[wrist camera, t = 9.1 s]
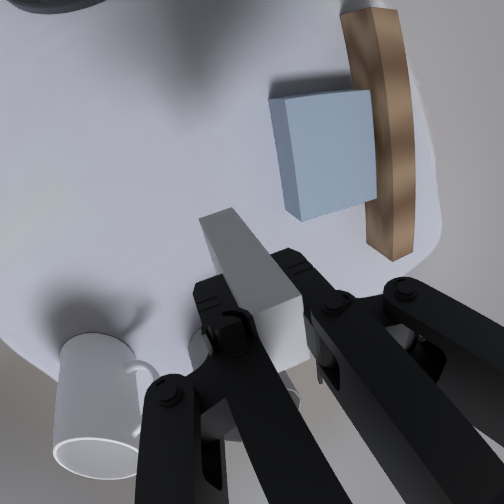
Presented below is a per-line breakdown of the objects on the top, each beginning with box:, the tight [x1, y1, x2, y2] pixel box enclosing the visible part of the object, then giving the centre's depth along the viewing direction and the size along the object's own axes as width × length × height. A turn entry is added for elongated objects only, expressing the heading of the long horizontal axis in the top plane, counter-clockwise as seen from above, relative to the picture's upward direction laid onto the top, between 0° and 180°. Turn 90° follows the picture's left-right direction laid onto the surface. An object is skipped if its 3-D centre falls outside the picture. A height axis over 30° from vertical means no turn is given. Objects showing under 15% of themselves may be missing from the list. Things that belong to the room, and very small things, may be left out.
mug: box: [53, 333, 160, 480], centre depth 24 cm, size 12×8×12 cm
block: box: [268, 89, 377, 222], centre depth 26 cm, size 10×8×4 cm
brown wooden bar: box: [340, 7, 415, 262], centre depth 26 cm, size 24×3×4 cm, turn 12°
